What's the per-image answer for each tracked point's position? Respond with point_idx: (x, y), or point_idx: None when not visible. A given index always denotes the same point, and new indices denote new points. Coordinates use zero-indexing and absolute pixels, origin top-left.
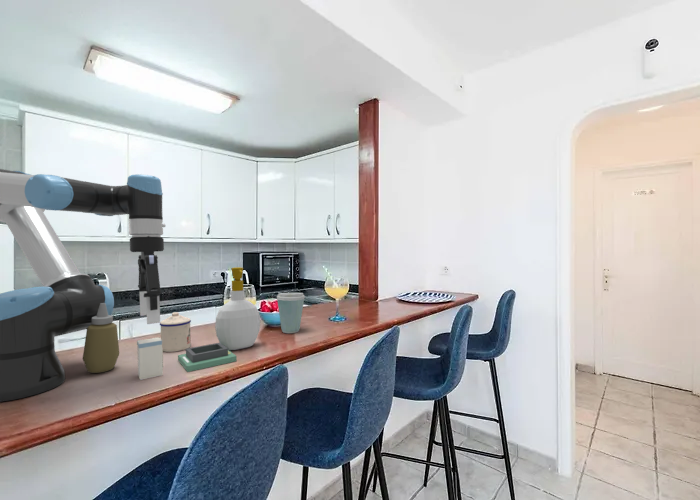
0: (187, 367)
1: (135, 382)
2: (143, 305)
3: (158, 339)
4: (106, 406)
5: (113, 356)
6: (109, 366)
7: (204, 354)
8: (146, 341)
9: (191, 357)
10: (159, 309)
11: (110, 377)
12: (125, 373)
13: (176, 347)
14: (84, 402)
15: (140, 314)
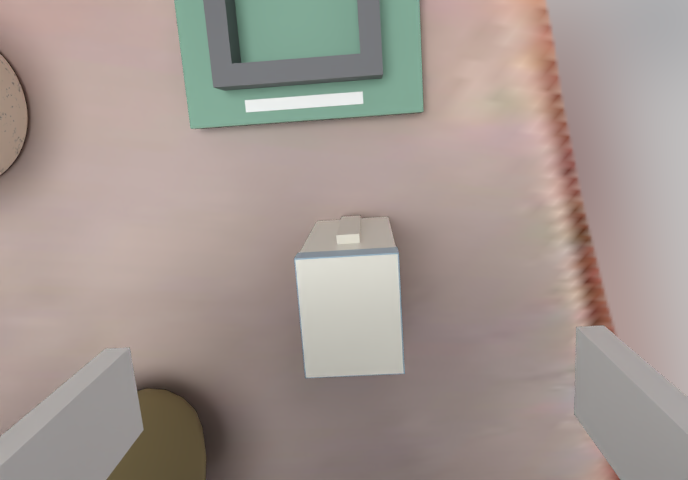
0: (422, 111)
1: (412, 318)
2: (90, 464)
3: (359, 269)
4: None
5: (179, 423)
6: (190, 413)
7: (378, 4)
8: (365, 334)
9: (358, 78)
10: (667, 382)
11: (282, 398)
12: (264, 348)
13: (15, 115)
14: (511, 465)
15: (135, 436)
